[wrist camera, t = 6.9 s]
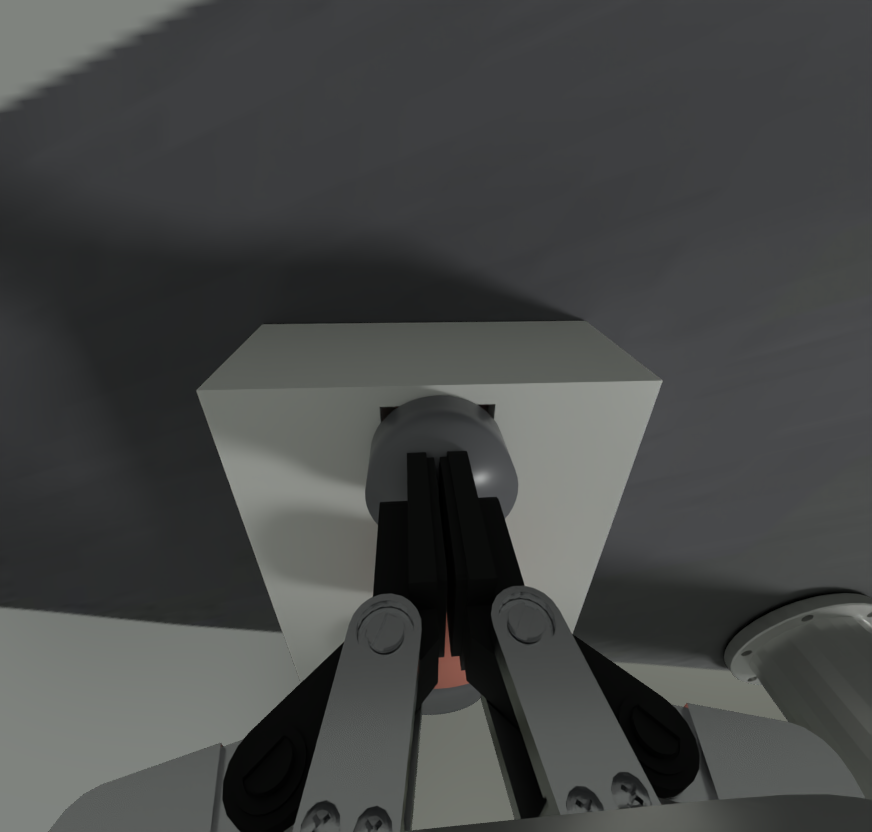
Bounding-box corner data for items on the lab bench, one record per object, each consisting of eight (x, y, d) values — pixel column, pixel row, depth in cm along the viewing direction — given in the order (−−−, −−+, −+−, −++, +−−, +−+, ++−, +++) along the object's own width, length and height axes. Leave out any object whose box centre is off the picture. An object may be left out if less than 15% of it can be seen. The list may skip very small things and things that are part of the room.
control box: (585, 320, 17) (662, 380, 12) (531, 567, 26) (562, 662, 21) (262, 324, 16) (196, 390, 11) (321, 578, 25) (299, 680, 20)
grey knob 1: (488, 350, 15) (528, 429, 10) (480, 444, 17) (509, 543, 12) (373, 352, 14) (357, 434, 10) (380, 447, 17) (371, 550, 12)
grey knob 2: (470, 556, 21) (489, 664, 16) (466, 604, 23) (481, 710, 19) (390, 560, 21) (385, 671, 16) (393, 608, 23) (390, 717, 18)
